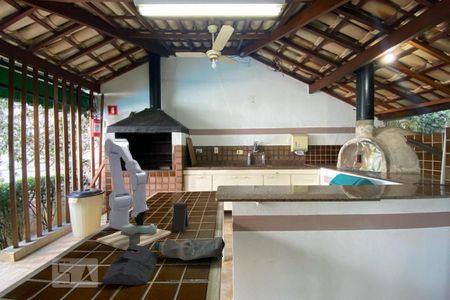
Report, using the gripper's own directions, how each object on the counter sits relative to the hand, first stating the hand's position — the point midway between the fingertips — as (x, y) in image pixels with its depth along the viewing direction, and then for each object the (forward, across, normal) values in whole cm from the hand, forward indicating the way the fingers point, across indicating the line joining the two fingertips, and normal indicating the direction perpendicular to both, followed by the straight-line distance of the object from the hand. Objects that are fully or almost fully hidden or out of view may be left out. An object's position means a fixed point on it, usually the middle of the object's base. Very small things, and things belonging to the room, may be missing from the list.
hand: (140, 228), depth 113 cm
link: (+1, -2, -1) cm, 2 cm away
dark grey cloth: (+3, -33, -9) cm, 34 cm away
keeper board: (+2, -5, 0) cm, 6 cm away
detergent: (+3, -24, -27) cm, 36 cm away
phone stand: (+2, +8, -17) cm, 19 cm away
